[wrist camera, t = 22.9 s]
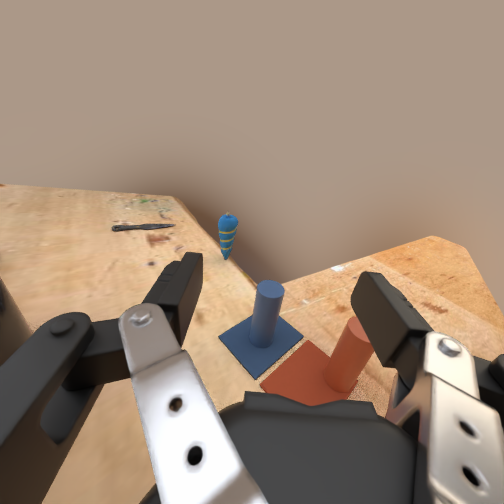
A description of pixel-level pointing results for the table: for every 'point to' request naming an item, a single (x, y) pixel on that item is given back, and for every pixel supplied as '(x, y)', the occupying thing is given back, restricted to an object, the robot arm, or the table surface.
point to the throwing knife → (139, 226)
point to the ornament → (227, 233)
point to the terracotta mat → (304, 378)
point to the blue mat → (256, 357)
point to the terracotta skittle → (348, 357)
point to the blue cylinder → (266, 313)
